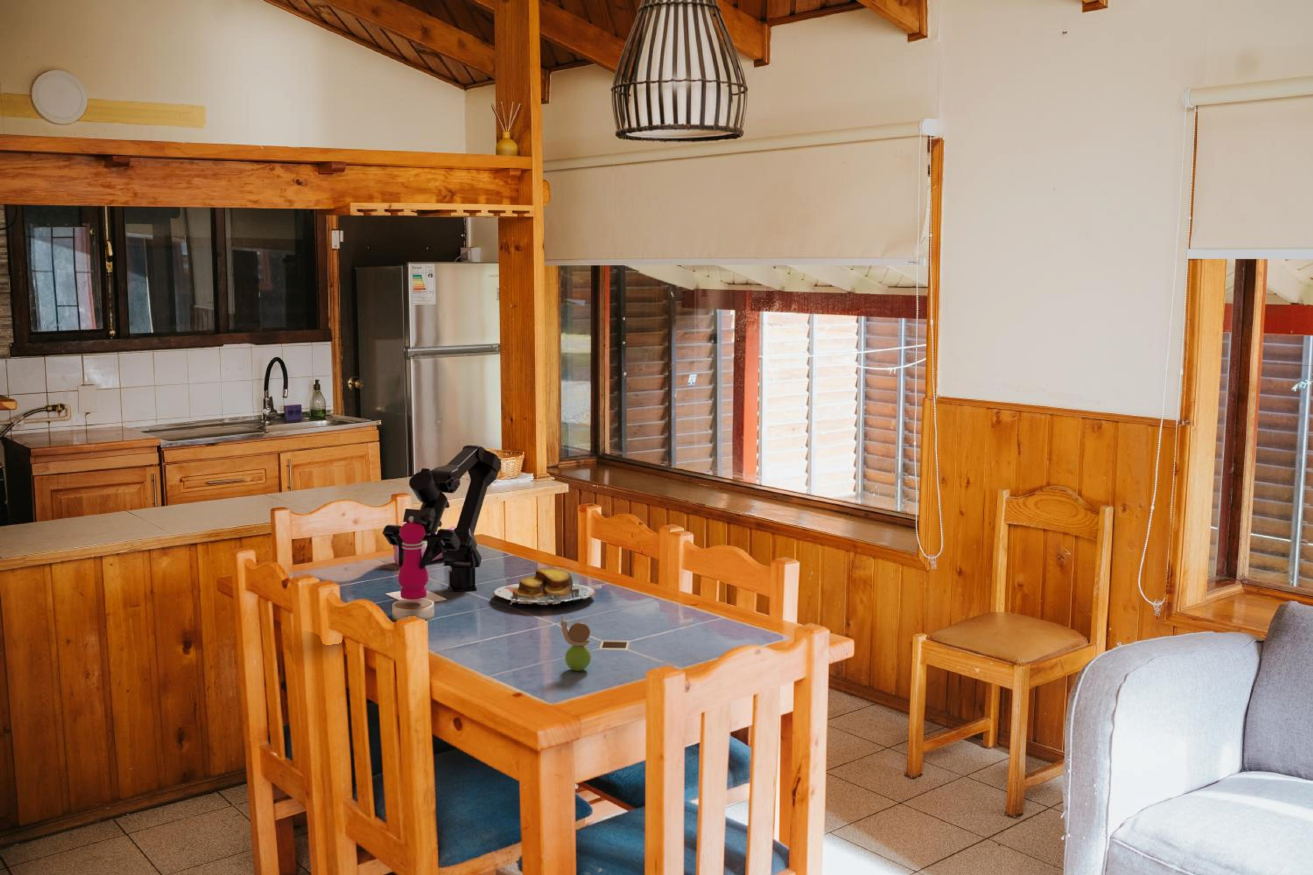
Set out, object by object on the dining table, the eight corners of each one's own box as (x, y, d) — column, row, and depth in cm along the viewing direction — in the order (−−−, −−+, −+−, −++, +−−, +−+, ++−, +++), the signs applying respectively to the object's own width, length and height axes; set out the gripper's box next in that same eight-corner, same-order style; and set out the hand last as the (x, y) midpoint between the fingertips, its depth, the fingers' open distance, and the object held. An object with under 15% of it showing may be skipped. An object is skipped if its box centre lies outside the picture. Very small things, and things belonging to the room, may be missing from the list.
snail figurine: (560, 666, 251) (560, 611, 249) (590, 665, 252) (590, 611, 250) (560, 674, 246) (560, 618, 244) (591, 674, 246) (591, 618, 245)
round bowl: (430, 608, 293) (430, 596, 292) (437, 619, 283) (437, 607, 283) (390, 612, 289) (389, 599, 289) (395, 623, 280) (394, 610, 280)
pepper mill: (414, 601, 281) (412, 520, 278) (392, 597, 285) (390, 516, 282) (435, 594, 287) (433, 514, 284) (413, 590, 291) (411, 511, 288)
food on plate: (473, 604, 298) (473, 579, 297) (530, 582, 320) (530, 558, 319) (560, 619, 286) (560, 592, 285) (613, 595, 308) (613, 570, 307)
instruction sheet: (420, 588, 312) (420, 587, 312) (446, 599, 301) (446, 598, 301) (385, 594, 305) (385, 593, 305) (411, 606, 295) (411, 605, 295)
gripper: (385, 492, 289) (362, 546, 280) (454, 497, 284) (433, 552, 275) (401, 517, 297) (380, 570, 289) (468, 522, 292) (449, 576, 283)
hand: (410, 567), depth 284 cm, fingers closed on pepper mill, 5 cm apart
